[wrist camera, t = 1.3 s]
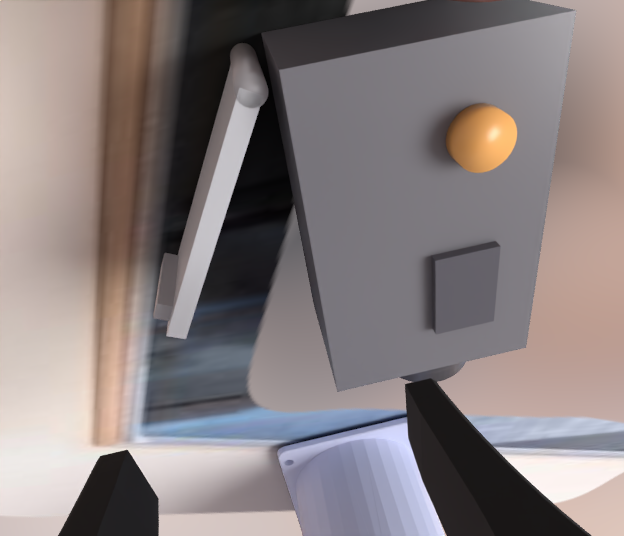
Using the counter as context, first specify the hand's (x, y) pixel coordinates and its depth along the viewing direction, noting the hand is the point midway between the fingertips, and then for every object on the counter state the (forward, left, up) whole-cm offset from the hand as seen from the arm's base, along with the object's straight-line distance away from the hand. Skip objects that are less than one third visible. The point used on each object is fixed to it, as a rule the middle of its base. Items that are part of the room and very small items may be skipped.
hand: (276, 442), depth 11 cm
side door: (+3, +1, -9) cm, 10 cm away
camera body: (+1, -5, -9) cm, 11 cm away
